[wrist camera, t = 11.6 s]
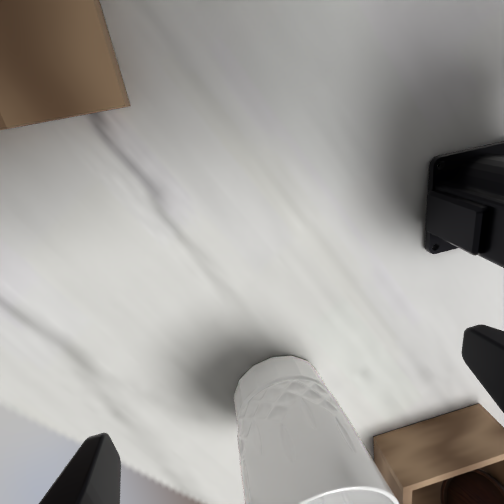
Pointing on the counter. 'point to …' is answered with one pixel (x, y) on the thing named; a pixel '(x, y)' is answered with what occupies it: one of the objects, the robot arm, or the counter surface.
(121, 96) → the walnut square frame
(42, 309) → the counter surface
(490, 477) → the dark brown rounded piece
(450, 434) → the walnut watch frame
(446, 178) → the robot arm
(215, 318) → the counter surface
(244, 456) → the white cup
